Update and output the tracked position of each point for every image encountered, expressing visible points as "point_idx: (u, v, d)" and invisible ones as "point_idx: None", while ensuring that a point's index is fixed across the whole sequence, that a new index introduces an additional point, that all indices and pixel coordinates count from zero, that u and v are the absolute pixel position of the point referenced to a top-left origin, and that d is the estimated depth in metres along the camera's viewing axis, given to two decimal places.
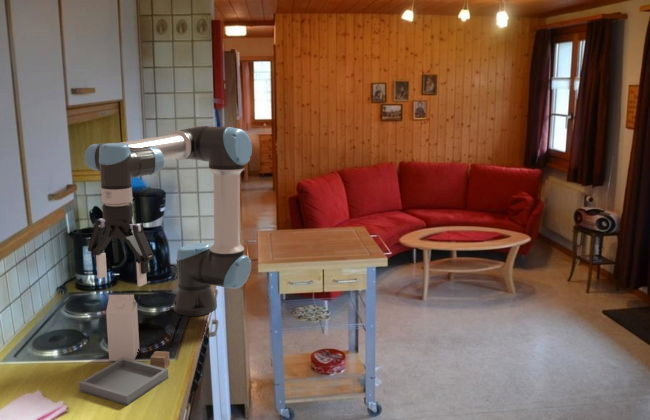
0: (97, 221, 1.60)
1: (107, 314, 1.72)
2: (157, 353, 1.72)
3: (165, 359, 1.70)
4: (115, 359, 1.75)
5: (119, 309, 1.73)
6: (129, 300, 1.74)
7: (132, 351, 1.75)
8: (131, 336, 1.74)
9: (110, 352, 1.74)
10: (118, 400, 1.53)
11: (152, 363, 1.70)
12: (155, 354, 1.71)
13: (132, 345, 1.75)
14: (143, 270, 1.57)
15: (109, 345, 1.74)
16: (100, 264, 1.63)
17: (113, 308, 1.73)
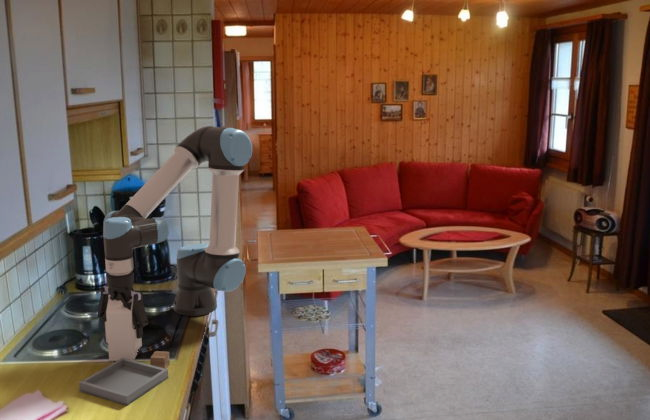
0: (101, 289, 1.76)
1: (107, 314, 1.72)
2: (157, 353, 1.72)
3: (165, 359, 1.70)
4: (115, 359, 1.75)
5: (119, 309, 1.73)
6: None
7: (132, 351, 1.75)
8: (131, 336, 1.74)
9: (110, 352, 1.74)
10: (118, 400, 1.53)
11: (152, 363, 1.70)
12: (155, 354, 1.71)
13: (132, 345, 1.74)
14: (138, 335, 1.74)
15: (109, 345, 1.74)
16: None
17: (113, 308, 1.73)
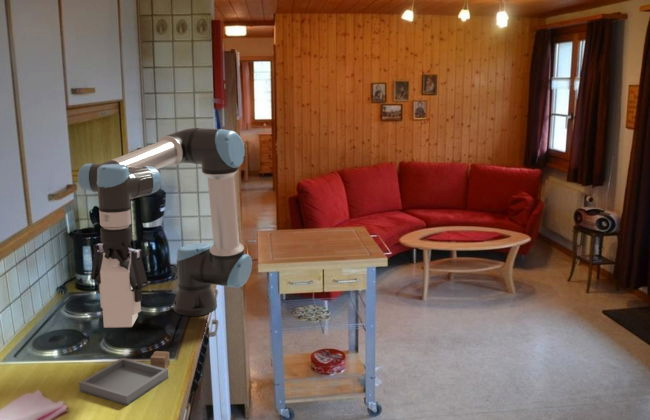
0: (95, 246, 1.55)
1: (101, 273, 1.52)
2: (157, 353, 1.72)
3: (165, 359, 1.70)
4: (110, 325, 1.55)
5: (115, 268, 1.52)
6: (127, 259, 1.54)
7: (130, 316, 1.55)
8: (128, 299, 1.54)
9: (105, 317, 1.54)
10: (118, 400, 1.53)
11: (152, 363, 1.70)
12: (155, 354, 1.71)
13: (130, 309, 1.54)
14: (137, 298, 1.54)
15: (104, 309, 1.54)
16: None
17: (108, 267, 1.52)
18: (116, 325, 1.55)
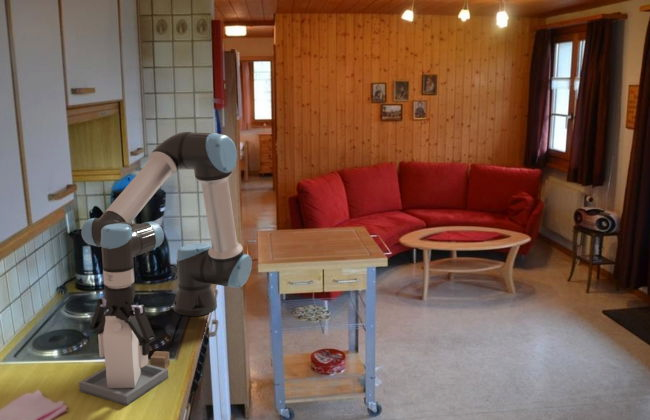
0: (99, 301, 1.59)
1: (103, 337, 1.55)
2: (157, 353, 1.72)
3: (165, 359, 1.70)
4: (114, 386, 1.59)
5: (117, 332, 1.56)
6: None
7: (132, 377, 1.58)
8: (131, 361, 1.57)
9: (108, 379, 1.58)
10: (118, 400, 1.53)
11: (152, 363, 1.70)
12: (155, 354, 1.71)
13: (132, 371, 1.58)
14: (144, 352, 1.56)
15: (107, 371, 1.57)
16: (102, 343, 1.62)
17: (110, 331, 1.56)
18: (119, 386, 1.59)
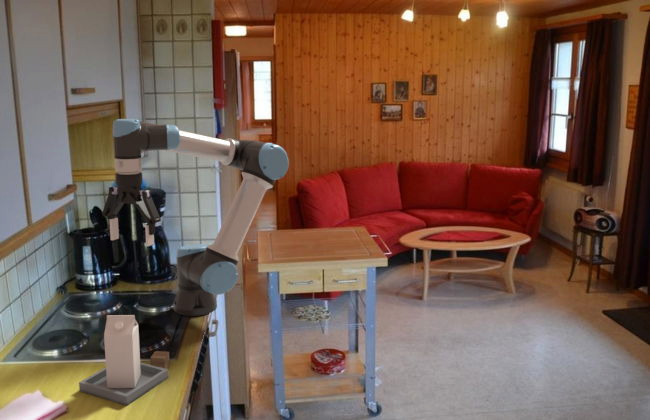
0: (110, 188, 1.80)
1: (104, 337, 1.55)
2: (157, 353, 1.72)
3: (165, 359, 1.70)
4: (114, 386, 1.59)
5: (118, 331, 1.56)
6: (130, 322, 1.58)
7: (133, 377, 1.58)
8: (131, 361, 1.57)
9: (108, 379, 1.58)
10: (118, 400, 1.53)
11: (152, 363, 1.70)
12: (155, 354, 1.71)
13: (133, 371, 1.58)
14: (151, 231, 1.78)
15: (107, 371, 1.58)
16: (113, 227, 1.84)
17: (112, 330, 1.56)
18: (119, 386, 1.59)
